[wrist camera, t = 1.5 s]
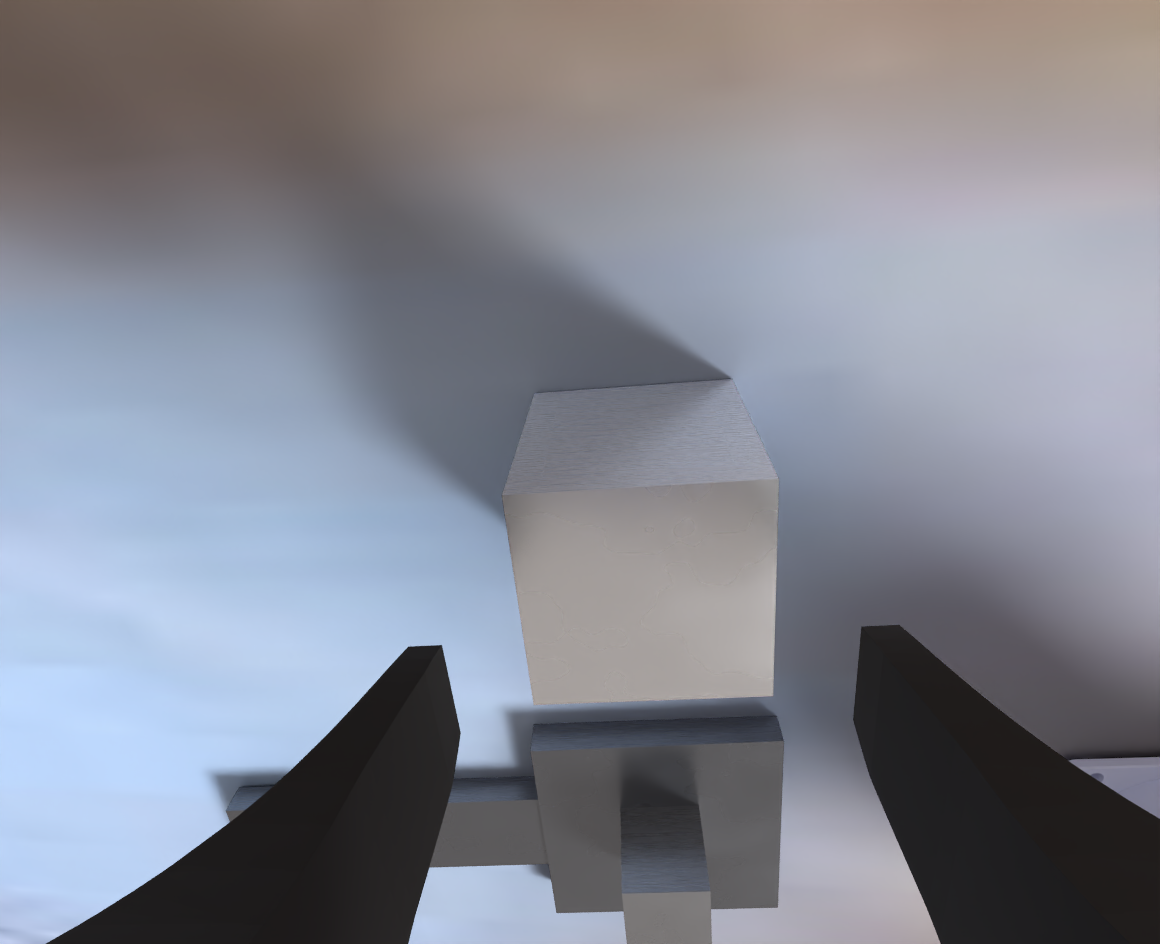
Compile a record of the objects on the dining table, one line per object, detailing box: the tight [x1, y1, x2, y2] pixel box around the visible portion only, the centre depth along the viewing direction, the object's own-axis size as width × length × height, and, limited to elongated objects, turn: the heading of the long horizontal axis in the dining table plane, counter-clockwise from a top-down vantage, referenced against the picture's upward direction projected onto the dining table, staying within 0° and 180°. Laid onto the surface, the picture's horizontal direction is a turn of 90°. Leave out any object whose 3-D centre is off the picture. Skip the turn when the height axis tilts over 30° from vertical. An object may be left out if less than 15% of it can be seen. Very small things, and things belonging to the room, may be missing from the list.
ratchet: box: [226, 716, 784, 944], centre depth 24 cm, size 19×8×4 cm, turn 95°
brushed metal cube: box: [502, 379, 779, 705], centre depth 17 cm, size 5×5×6 cm
